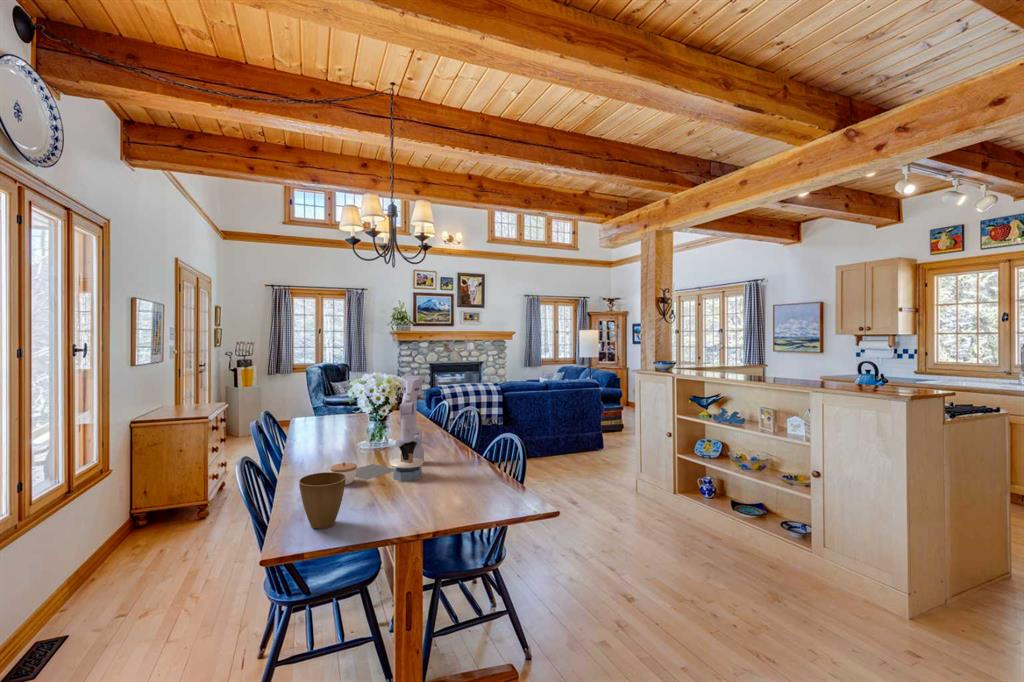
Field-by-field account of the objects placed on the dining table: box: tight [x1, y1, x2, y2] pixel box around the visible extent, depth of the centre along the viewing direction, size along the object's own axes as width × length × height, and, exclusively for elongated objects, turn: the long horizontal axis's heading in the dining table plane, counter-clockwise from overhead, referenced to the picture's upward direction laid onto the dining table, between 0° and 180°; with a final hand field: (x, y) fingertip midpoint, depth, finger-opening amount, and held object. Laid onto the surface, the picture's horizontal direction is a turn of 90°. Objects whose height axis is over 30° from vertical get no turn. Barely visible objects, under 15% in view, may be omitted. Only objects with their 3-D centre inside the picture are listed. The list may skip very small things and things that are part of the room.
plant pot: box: [298, 471, 346, 529], centre depth 164 cm, size 15×15×16 cm
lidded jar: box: [330, 461, 358, 486], centre depth 208 cm, size 11×11×9 cm
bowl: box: [393, 466, 423, 483], centre depth 218 cm, size 12×12×4 cm
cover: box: [389, 453, 425, 468], centre depth 218 cm, size 15×15×4 cm
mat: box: [355, 463, 394, 480], centre depth 226 cm, size 18×18×1 cm
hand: (407, 459), depth 217 cm, fingers closed on cover, 2 cm apart
